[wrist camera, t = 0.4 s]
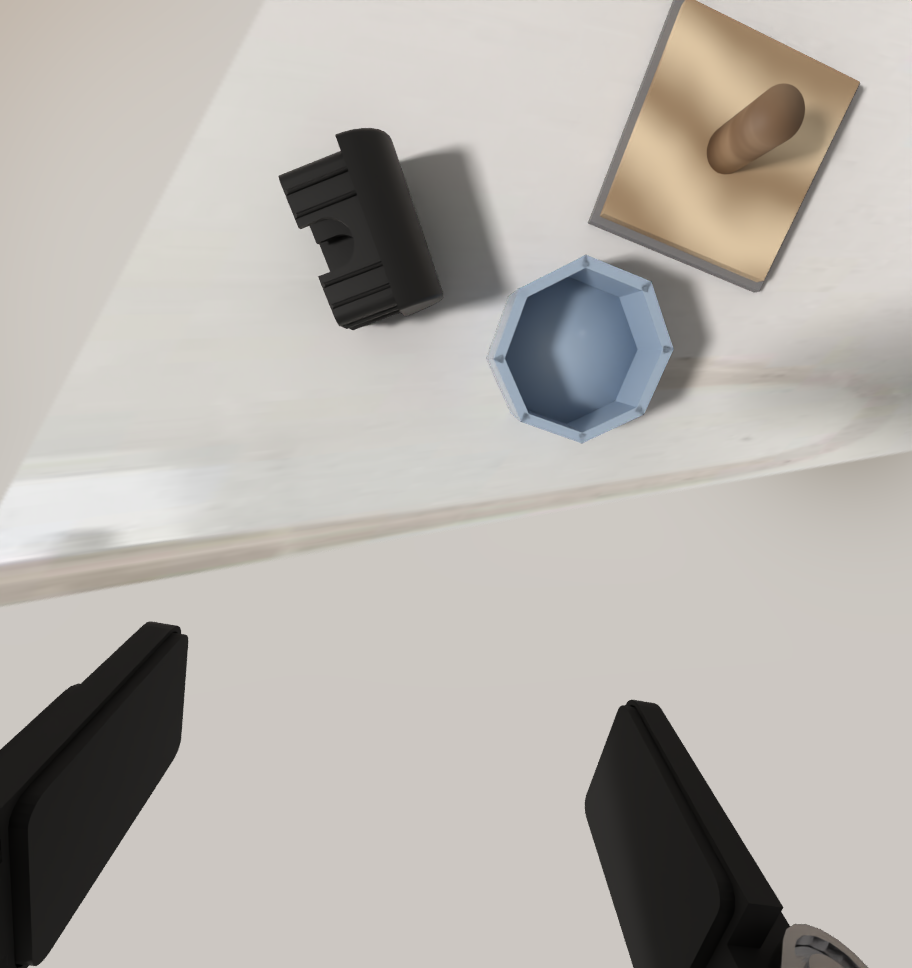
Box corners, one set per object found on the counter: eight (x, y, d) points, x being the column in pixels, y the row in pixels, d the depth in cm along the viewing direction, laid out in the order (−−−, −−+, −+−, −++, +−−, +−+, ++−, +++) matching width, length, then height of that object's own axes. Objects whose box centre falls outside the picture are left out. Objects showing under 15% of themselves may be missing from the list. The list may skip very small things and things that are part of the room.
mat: (673, -1, 31) (678, -8, 30) (852, 87, 33) (860, 83, 32) (587, 223, 34) (590, 221, 34) (753, 292, 36) (759, 291, 36)
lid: (681, 5, 31) (735, -72, 25) (850, 88, 32) (936, 33, 27) (599, 216, 34) (631, 190, 28) (756, 282, 35) (816, 269, 30)
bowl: (524, 250, 35) (537, 234, 30) (662, 306, 36) (696, 299, 31) (471, 399, 38) (476, 406, 33) (601, 445, 39) (624, 458, 34)
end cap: (444, 303, 36) (445, 292, 29) (356, 335, 36) (339, 332, 30) (395, 159, 33) (385, 112, 26) (301, 196, 33) (268, 159, 27)
